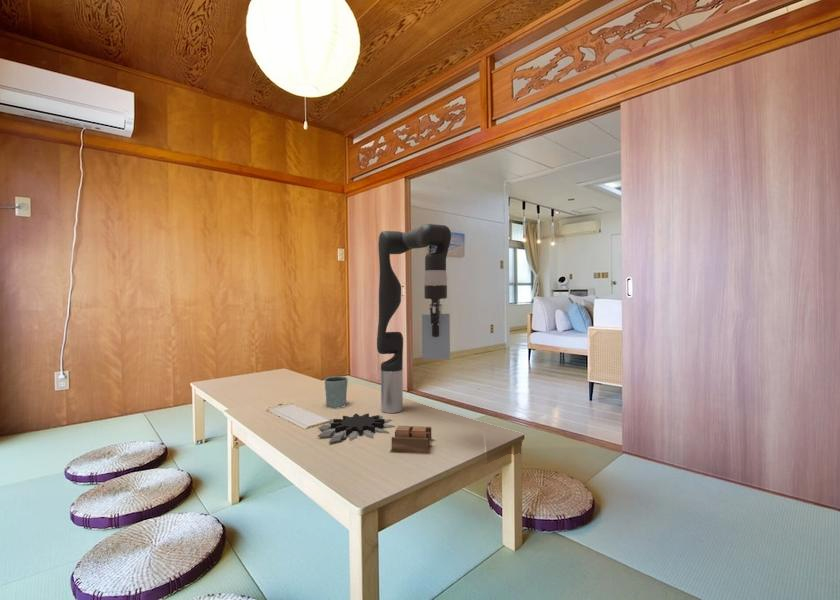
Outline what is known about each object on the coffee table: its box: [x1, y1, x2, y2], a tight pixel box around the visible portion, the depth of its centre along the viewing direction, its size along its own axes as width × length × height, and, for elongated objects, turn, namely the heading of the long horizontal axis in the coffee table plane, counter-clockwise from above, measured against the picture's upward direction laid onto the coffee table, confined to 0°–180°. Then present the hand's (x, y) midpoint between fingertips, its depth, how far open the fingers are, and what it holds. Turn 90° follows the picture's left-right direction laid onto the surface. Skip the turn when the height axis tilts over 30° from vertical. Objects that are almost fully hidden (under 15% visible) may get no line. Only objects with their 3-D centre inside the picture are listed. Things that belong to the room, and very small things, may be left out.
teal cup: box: [324, 376, 349, 409], centre depth 171 cm, size 10×10×12 cm
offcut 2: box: [412, 426, 426, 438], centre depth 118 cm, size 3×4×6 cm
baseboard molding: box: [265, 403, 330, 430], centre depth 155 cm, size 31×3×12 cm
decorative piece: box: [317, 412, 396, 444], centre depth 138 cm, size 30×4×30 cm
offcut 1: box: [395, 426, 410, 437], centre depth 119 cm, size 3×4×6 cm
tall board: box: [421, 313, 451, 361], centre depth 128 cm, size 3×9×15 cm, turn 82°
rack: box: [389, 425, 434, 455], centre depth 121 cm, size 12×12×6 cm
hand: (436, 335), depth 128 cm, fingers closed on tall board, 3 cm apart
